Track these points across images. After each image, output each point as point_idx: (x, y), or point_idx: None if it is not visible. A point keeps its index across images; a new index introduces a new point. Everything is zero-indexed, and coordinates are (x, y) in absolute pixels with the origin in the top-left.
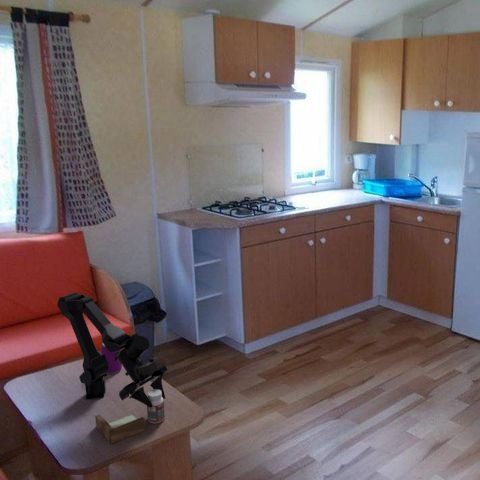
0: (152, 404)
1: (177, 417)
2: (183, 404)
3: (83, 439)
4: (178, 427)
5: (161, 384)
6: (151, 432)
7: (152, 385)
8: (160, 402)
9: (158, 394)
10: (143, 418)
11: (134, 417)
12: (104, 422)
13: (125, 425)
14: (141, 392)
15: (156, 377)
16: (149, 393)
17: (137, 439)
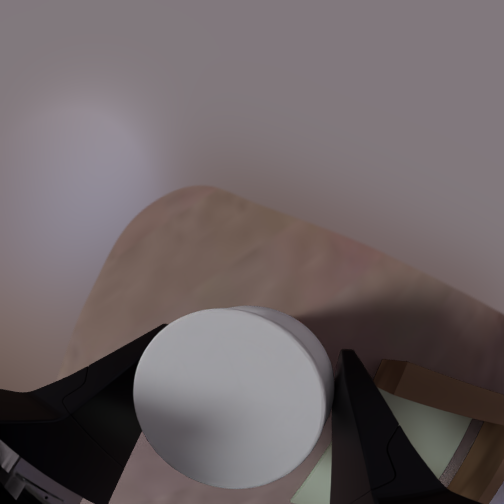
0: (330, 363)
1: (206, 273)
2: (105, 308)
3: (495, 496)
4: (281, 217)
5: (59, 386)
6: (384, 314)
7: (101, 487)
8: (263, 310)
9: (239, 328)
10: (405, 373)
11: (310, 479)
12: (484, 500)
13: (491, 404)
14: (440, 501)
15: (6, 459)
16: (268, 461)
17: (453, 334)
